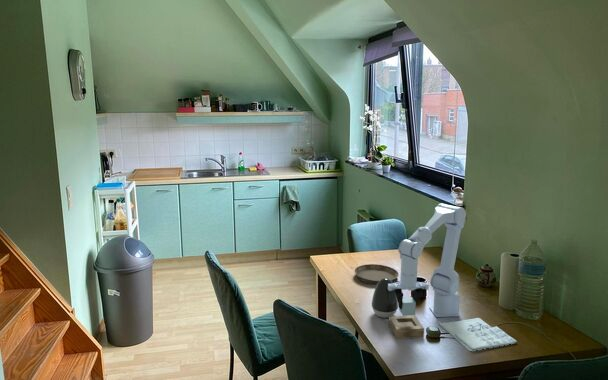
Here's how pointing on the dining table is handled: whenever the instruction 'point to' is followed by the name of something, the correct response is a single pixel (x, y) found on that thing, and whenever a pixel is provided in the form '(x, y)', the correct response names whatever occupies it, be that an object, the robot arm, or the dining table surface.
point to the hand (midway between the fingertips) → (407, 307)
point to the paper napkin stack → (477, 334)
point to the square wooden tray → (406, 326)
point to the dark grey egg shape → (384, 299)
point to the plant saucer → (375, 273)
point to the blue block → (408, 306)
